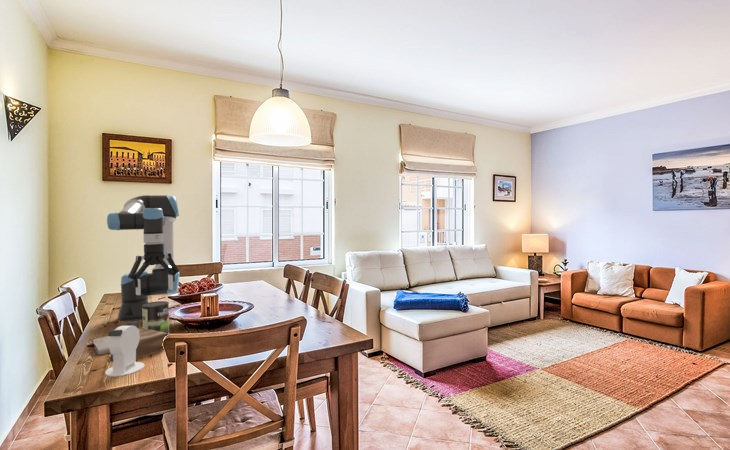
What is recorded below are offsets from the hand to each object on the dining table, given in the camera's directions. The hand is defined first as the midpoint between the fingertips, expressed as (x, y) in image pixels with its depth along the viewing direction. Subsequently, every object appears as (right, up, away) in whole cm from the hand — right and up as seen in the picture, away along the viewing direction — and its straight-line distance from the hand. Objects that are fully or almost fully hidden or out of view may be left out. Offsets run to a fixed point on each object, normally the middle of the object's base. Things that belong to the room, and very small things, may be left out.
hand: (155, 292), depth 163 cm
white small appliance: (+9, -21, -34) cm, 41 cm away
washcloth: (-11, -21, -11) cm, 26 cm away
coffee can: (0, -20, +1) cm, 20 cm away
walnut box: (+5, -20, -16) cm, 26 cm away
